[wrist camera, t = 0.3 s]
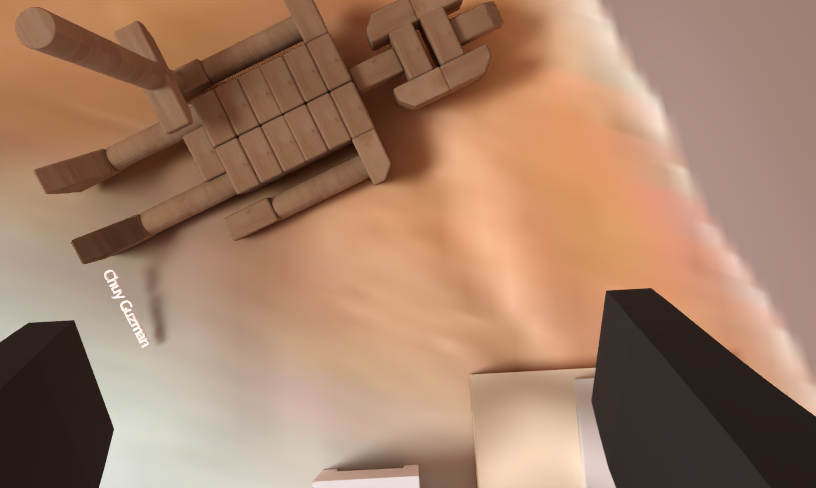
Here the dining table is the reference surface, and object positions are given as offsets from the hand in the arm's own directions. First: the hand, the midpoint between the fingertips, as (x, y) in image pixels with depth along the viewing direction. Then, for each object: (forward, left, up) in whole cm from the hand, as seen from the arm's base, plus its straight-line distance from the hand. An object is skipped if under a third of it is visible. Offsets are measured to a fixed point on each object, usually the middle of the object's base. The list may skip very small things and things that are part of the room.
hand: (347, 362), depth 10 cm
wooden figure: (+13, +5, -29) cm, 32 cm away
